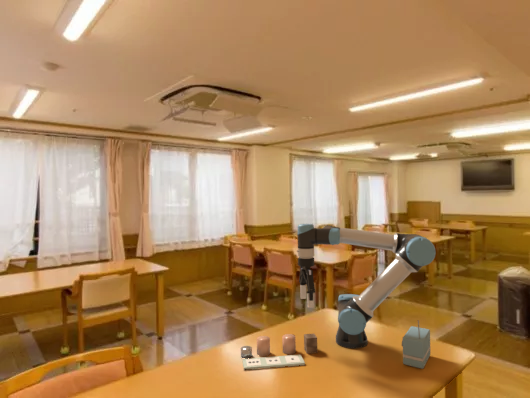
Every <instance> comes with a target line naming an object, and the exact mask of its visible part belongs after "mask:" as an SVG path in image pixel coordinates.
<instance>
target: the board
mask: <svg viewBox="0 0 530 398" xmlns="http://www.w3.org/2000/svg"><path fill="white" fill-rule="evenodd" d="M305 363H306V362H305V360H304V358H303V357H302V354H291V355H288V354H286V355H277V356H276V355H275V356H265V357H252V358H249V359H242V367H244V368H243V370H244V369H252V370H259V369H258V368H264V369H271V368H270V367H276V368H284V367H285V366H288V367H296V366H297V367H299V365H300V366H306V364H305ZM285 368H286V367H285Z"/></svg>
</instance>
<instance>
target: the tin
mask: <svg viewBox="0 0 530 398" xmlns="http://www.w3.org/2000/svg"><path fill="white" fill-rule="evenodd" d="M241 357H242V358H245V359H248V358H251V357H252V358H253V347H252V346H250V345H243V346H241V347H240V358H241ZM242 358H241V359H242Z"/></svg>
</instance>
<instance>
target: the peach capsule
mask: <svg viewBox="0 0 530 398" xmlns="http://www.w3.org/2000/svg"><path fill="white" fill-rule="evenodd" d="M296 343H297V342H296V335H294V334H292V333H286V334H283V335H282V353H283V354H284V355H288V354H289V355H295V354H296V352H297V350H296V346H297V345H296Z"/></svg>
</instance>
